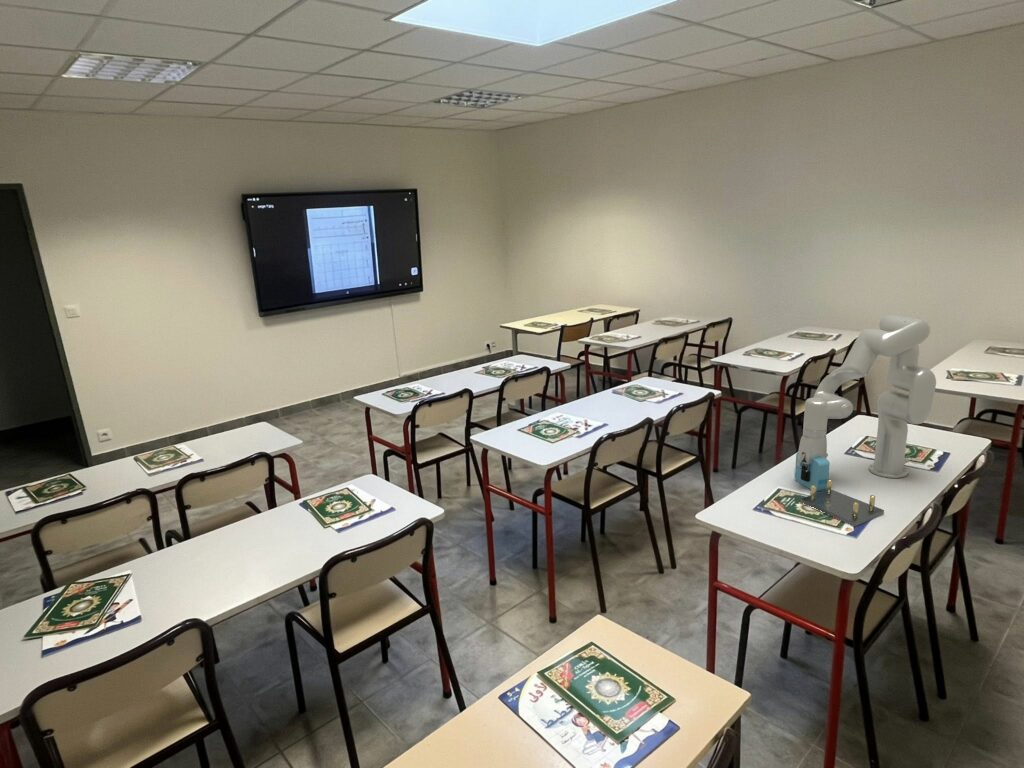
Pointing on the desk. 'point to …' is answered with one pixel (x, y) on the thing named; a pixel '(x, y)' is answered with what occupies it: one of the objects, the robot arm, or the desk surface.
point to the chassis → (842, 505)
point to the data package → (815, 473)
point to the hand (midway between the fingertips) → (811, 477)
